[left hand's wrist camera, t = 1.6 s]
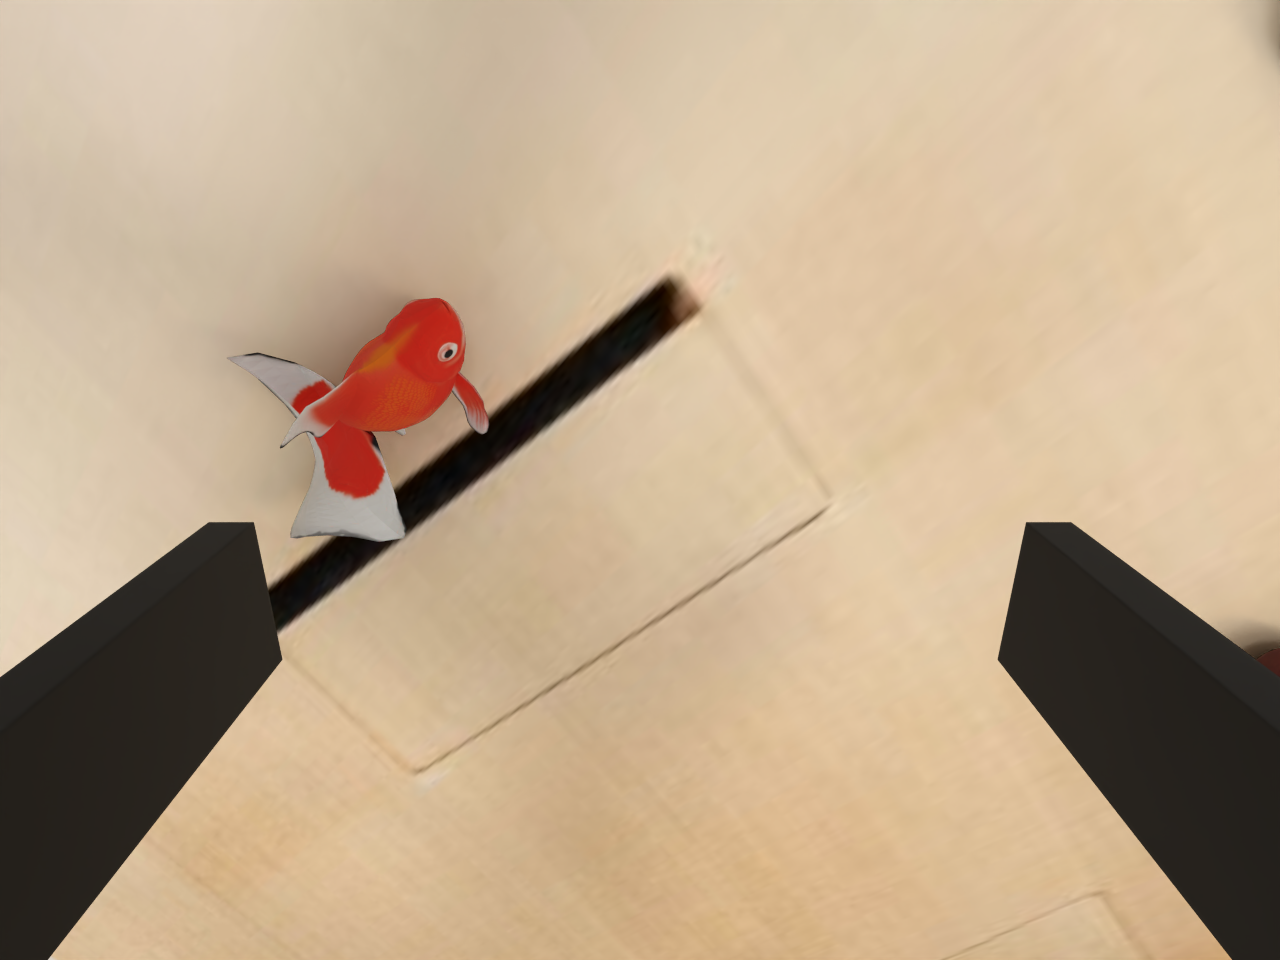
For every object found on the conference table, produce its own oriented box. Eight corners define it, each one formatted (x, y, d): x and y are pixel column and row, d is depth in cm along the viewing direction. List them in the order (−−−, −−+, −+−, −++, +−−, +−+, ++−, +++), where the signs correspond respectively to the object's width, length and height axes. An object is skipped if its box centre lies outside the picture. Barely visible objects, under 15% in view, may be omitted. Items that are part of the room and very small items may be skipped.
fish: (586, 459, 35) (430, 511, 27) (400, 546, 44) (239, 605, 36) (501, 255, 35) (318, 244, 27) (332, 382, 44) (156, 404, 36)
